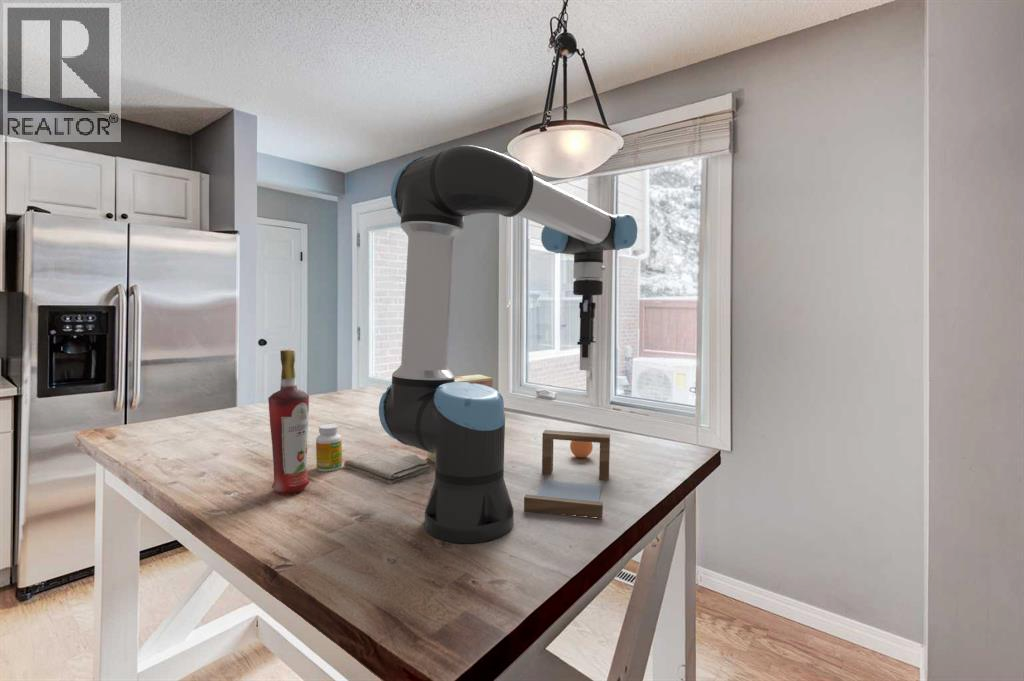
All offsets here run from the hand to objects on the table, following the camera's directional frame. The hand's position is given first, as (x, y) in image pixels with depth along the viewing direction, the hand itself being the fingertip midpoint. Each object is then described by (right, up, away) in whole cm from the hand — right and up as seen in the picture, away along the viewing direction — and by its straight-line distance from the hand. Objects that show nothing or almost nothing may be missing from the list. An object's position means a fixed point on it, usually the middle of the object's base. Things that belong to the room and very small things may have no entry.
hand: (586, 368), depth 130 cm
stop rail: (-10, -24, -41) cm, 48 cm away
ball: (-2, -19, -8) cm, 21 cm away
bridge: (-5, -22, -20) cm, 31 cm away
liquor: (-64, -23, -31) cm, 74 cm away
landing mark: (-8, -23, -31) cm, 40 cm away
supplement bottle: (-61, -22, -18) cm, 67 cm away
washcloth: (-48, -23, -17) cm, 56 cm away
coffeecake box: (-32, -21, -8) cm, 40 cm away
